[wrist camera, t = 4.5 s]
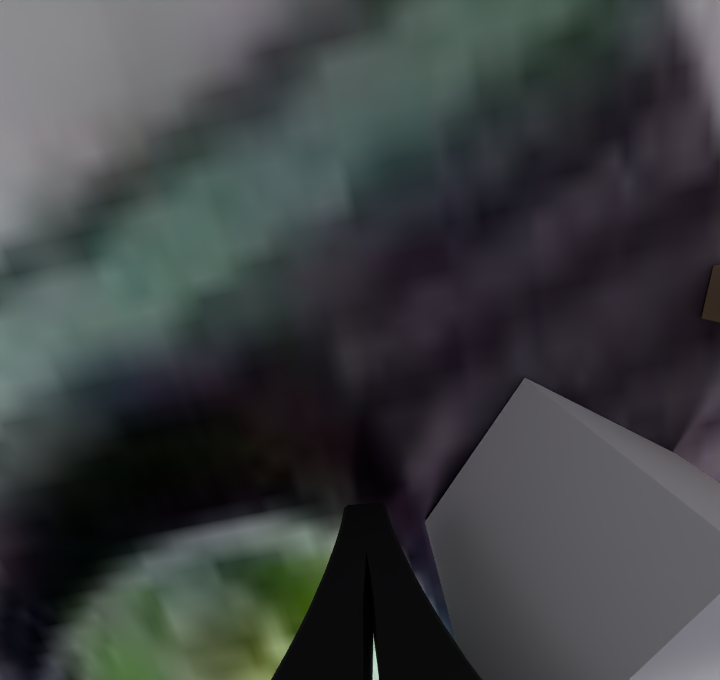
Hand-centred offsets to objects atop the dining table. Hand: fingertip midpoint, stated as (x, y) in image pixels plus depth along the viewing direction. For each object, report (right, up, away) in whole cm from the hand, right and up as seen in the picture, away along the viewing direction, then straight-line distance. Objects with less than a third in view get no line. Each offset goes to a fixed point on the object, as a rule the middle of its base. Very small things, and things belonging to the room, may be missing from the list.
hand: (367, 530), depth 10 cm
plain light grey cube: (+6, +1, +1) cm, 6 cm away
